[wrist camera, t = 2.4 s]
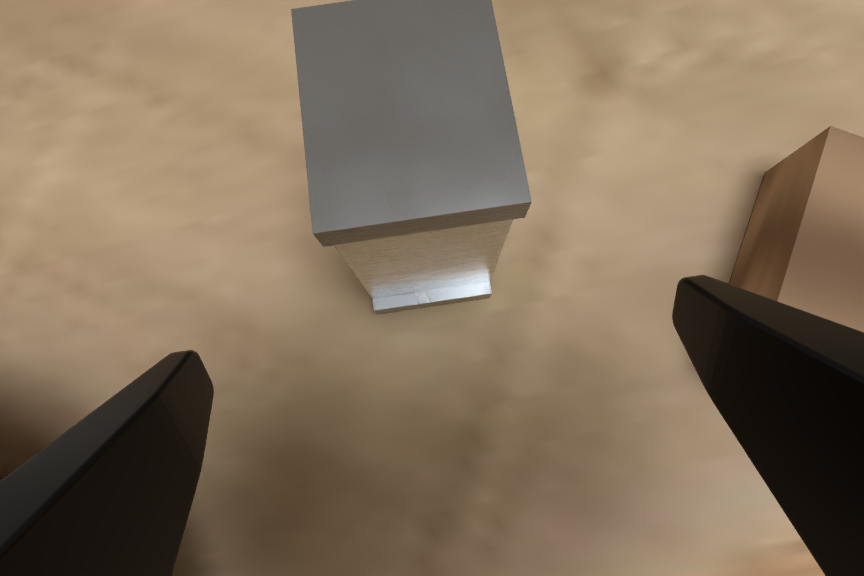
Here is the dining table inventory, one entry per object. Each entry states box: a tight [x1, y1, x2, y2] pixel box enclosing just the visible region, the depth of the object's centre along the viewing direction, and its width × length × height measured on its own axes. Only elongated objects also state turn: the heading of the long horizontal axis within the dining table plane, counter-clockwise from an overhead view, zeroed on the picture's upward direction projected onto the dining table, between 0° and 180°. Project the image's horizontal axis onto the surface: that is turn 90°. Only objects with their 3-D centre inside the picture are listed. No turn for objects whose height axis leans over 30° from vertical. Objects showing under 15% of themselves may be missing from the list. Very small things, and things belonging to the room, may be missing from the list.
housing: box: [291, 0, 532, 314], centre depth 17 cm, size 6×5×11 cm
